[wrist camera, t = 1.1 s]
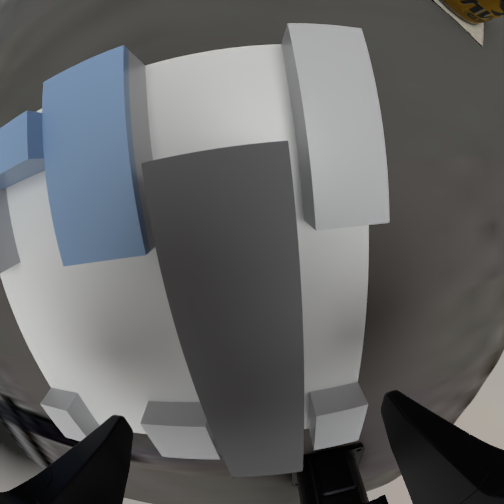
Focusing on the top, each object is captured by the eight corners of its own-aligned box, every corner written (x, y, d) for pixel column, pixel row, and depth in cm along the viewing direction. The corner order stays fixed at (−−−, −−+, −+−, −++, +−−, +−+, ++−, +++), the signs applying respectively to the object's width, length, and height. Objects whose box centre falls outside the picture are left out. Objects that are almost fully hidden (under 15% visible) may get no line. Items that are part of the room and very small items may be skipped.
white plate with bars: (347, 409, 16) (364, 456, 12) (78, 413, 17) (59, 449, 12) (339, 53, 10) (376, 12, 6) (-11, 148, 10) (-57, 152, 6)
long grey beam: (294, 422, 15) (302, 471, 11) (233, 428, 15) (232, 477, 11) (273, 151, 11) (287, 140, 7) (176, 165, 11) (141, 163, 7)
